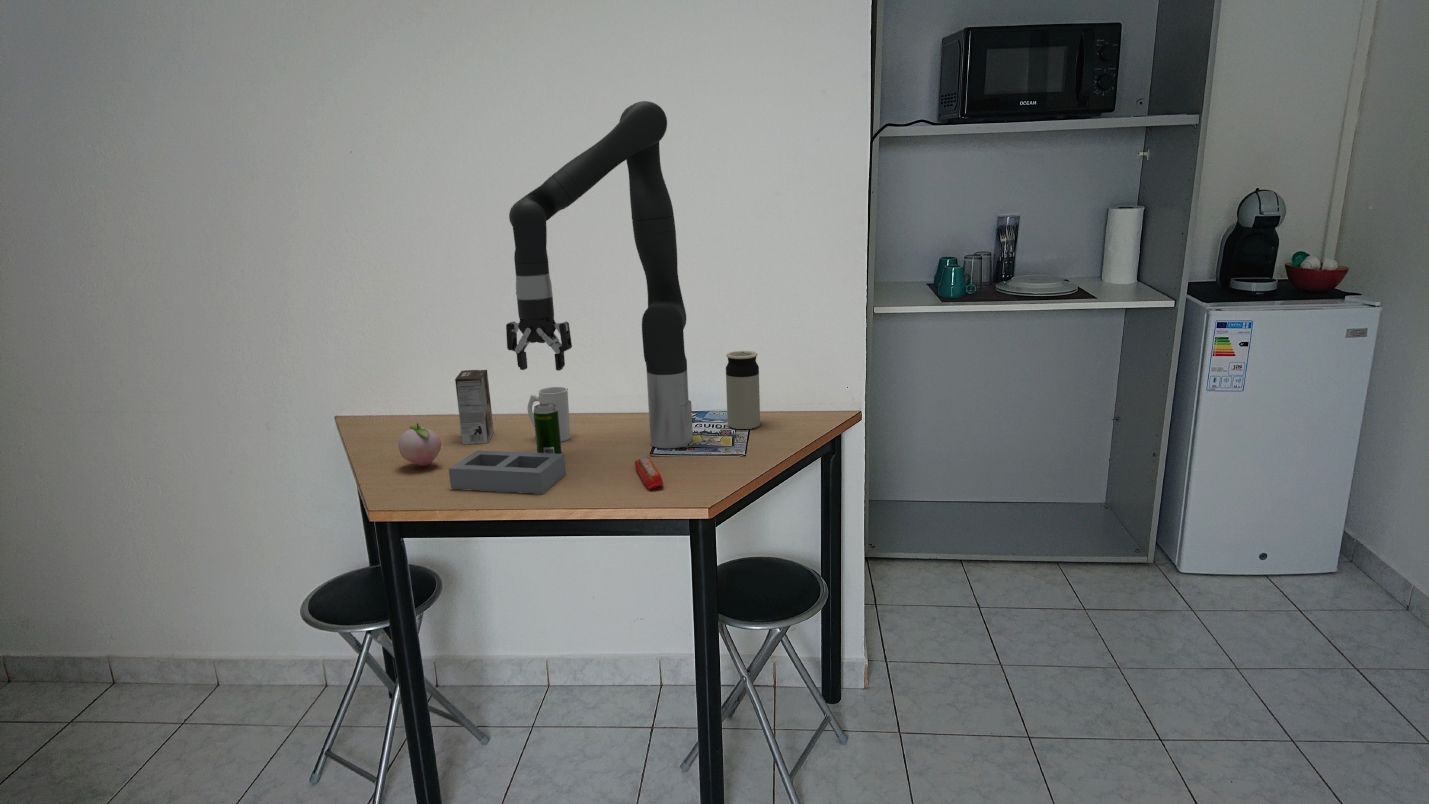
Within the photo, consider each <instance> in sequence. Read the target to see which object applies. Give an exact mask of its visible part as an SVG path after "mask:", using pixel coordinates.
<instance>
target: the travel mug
mask: <svg viewBox="0 0 1429 804" xmlns="http://www.w3.org/2000/svg"><path fill="white" fill-rule="evenodd" d="M725 355H726V357H727V361H728V362H727V364H726V366H725V379H726V380H725V383H726V385H725V386H726V388H725V389H726V412H727V413H726V414H727V415H726V416H727V420H726V421H727V426H728V427H729V426H730V427H732V428H736V429H735V430H737V429H749V430H753V429H752V428H754V429H757V428H758V427H760V425H761V408H760V407H761V404H760V403H761V400H760V395H761V394H760V368H759V365H758V363H757V357H758V352H756V351H751V350H736V351H731V352H728V353H726V354H725ZM730 427H729V428H730ZM732 428H731V429H732Z"/></svg>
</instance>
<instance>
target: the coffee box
mask: <svg viewBox="0 0 1429 804" xmlns="http://www.w3.org/2000/svg"><path fill="white" fill-rule="evenodd" d="M454 381H455V382H454V383H455V389H456V392H455V393H456V400H457V409H458V417H459V425H460V426H459V427H460V434H461V436H460V437H461V442H462V443H461V444H462V445H474V444H475V445H476V443H477V444H478V445H479V444H488V443H490V440H491V439H492V436H493V434H494V433H495V431H494V424H493V423H494V422H493V420H494V419H493V411H492V403H491V395H490V385H489V376H488V369H481V370H480V369H469V370H461V371H460V372H459V374H458V375H457V376H456V378H455V379H454Z"/></svg>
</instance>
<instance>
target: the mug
mask: <svg viewBox="0 0 1429 804" xmlns="http://www.w3.org/2000/svg"><path fill="white" fill-rule="evenodd" d="M537 393H538V395H537V394H530V398H529V401H528V403H527V413H528V417H529V419H530V421H531V423H532V426H533V427H534V428H535V423H534V411H533V405H534V403H535V402H539V404H545V403H553V404H556V405H557V408H558V416H559V428H560V440H561V442H565V441H568V440H569V439H570V438H571V428H570V410H569V408H570V407H569V394H568V393H569V392H568V388H567V387H564V386H548V387H545V388H540V389H539V390H538V392H537Z"/></svg>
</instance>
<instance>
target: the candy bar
mask: <svg viewBox="0 0 1429 804" xmlns="http://www.w3.org/2000/svg"><path fill="white" fill-rule="evenodd" d="M634 466H635V469H636V471H637V472H638V473H637V474H639V477H640V478H641V480H642V482H643V484H644V486H645V487H646V488H647V490H649V489H651V490H654V489H656V488H659V487H661V486H663V485H664V482H663V478H662V476H661V473H660V472H659V470H658V469H657V467H656V466H655V464H654V462H653V461H652V459H651V458H650V457H649V456H643V457H641V458H639V459H637V460H635V461H634Z"/></svg>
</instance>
